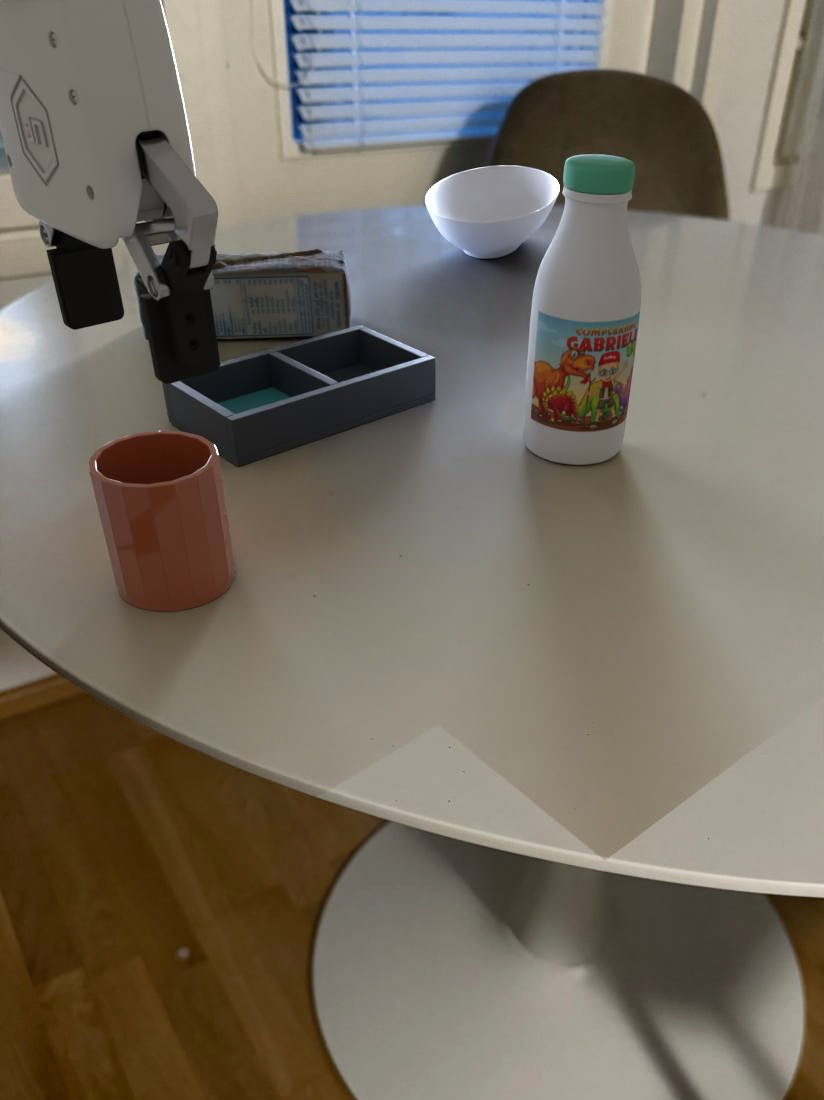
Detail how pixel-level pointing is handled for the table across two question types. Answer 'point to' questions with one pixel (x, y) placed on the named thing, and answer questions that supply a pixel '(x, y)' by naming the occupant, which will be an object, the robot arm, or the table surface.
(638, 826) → the table surface
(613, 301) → the milk bottle
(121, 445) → the cup
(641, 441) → the table surface
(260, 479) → the table surface
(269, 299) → the beverage carton
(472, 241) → the bowl
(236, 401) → the tray
